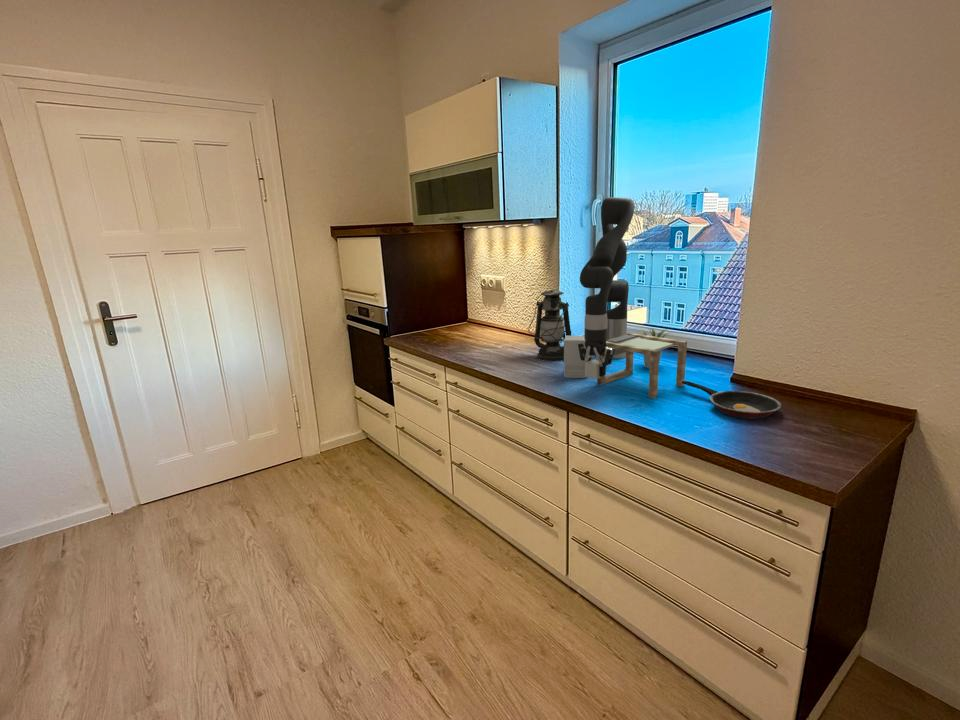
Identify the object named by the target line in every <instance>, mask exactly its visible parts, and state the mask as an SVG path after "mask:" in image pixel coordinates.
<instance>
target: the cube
mask: <svg viewBox="0 0 960 720" xmlns="http://www.w3.org/2000/svg"><path fill="white" fill-rule="evenodd" d="M602 362H603V361H602ZM599 366H600V365H599V361H598V360H597V358H594V359H593V358H592V360H590V361H587V362H585V376H587V378H591V379H595V380H597V379H598V378H601V377H600V376H599ZM604 376H607V375H606V374H605V375H604ZM602 377H603V376H602Z"/></svg>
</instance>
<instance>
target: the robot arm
mask: <svg viewBox="0 0 960 720" xmlns="http://www.w3.org/2000/svg"><path fill="white" fill-rule="evenodd" d="M634 213H635V202H634V200H633V199H632V198H628V197H627V198H626V197H614V196H610V197H605V198H604V199H603V200H602V202H601V206H600V221H601V233H602V237H601V238H600V239H599V240H598V241H597V243H596V246H595V249H594V251H593V254H592V256H591V257H590V258H589V260H588V261H587V263H585V265H584V266H583V268H582V269H581V271H580V274H579V283H580V285H581V286H582V287H583V288H585V289H600V290H599V292H598V293H597V294H591V295H589V296H586V297H585V304H584V305H585V313H584V334H583V336H584V339H585V340H586V341H585V343H584V342H583V343H580V344H578V348H579V354H580V359H581V360H583V361H584V362H587V361H590V360H593V358H594V357H595V359H596V360H598V361H599V365H600V366H599V376H600V377H602V376H604V375H605V374H606V373H607V366H609V365H611V364H612V361H613V359H614V360H615V359H616V360H618V359H624V358H626V352H625V353H621V354H618V355H613V354H614V348H611V349H610V348H608V347H607V345H606V341H607V340H609V339H612V338H616V337H620V336H623V335H626V334H627V333H628V332H627V331H628V305H629V304H628V302H629V301H628V300H629V293H630V292H629V291H630V290H629V289H630V287H629V282H628V281H627V280H625V279H623V280H621V279H618V280H614V278H615V276H617V275H618V273H619V272H620V271H621V270H622V269H623V268H624V266H625V265H626V263H627V260H628V259H627V258H628V257H627V256H628V254H627V253H628V246H627V245H626V242H625V241H624V239H623V238H624V236H625V234H626V233H627V230H628V229H629V227H630V225H631V222H632V219H633V217H634ZM614 225H615V227H614ZM608 303H619V304H618V305H617V306H615V307H613V308H610V309H608ZM586 349H587V352H586ZM605 351H606V352H605ZM605 354H606V355H605ZM583 355H584V356H583ZM601 355H602V357H600V356H601ZM602 361H603V362H602Z"/></svg>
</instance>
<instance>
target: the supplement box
mask: <svg viewBox="0 0 960 720" xmlns="http://www.w3.org/2000/svg"><path fill="white" fill-rule="evenodd" d="M585 341H586V340H585V339H584V335H571V336H566V335H565V339H564V341H563V346H564V360H563V371H564V374H563V376H564V378H567V379H570V378H571V379H574V378H575V379H588V377H587V376H585V362H584V361H583V360H581V359H580V354H579V348H578V344H580V343H583V342H584V343H585ZM586 352H587V349H586ZM583 356H584V355H583Z"/></svg>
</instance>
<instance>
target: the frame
mask: <svg viewBox="0 0 960 720" xmlns="http://www.w3.org/2000/svg"><path fill="white" fill-rule="evenodd" d="M626 335H632V336H636V338H638V337H641V339H647V340H654V341H660V342H666V343H673V346H677V347H678V348H677V359H676V360H677V362H676V377H675V378H676V379H675V380H676V382H675V386H676V387H680V388H681V387H684V386H685V384H683V383H682V381H686V380H685V379H686V364H687V363H686V362H687V348H688V341H686V340H681V339H680V340H679V339H673V338H666V337H663V338H662V337H661V336H660V337H657V336H655V337H654V336H652V335H648V334H647V335H644V334H639V333H638V334H637V333H635V332H634V333H633V332H627V334H626ZM606 345H607V347H608V348H614V349H618V350H624V351H628V352H626V357H625V366H624V367H625V369H622V370H619V371H616V372H613V373H610V374H607V375H606V376H603V377H601V378H598V379H596V381H597V382H596V385H600V386H603V385H606V384H609V383H612V382H615V381H617V380H620V379H623V378H625V376H626V377H628V375H629V376H631V375H633V374H634V353H635V354H640V355H643V354H645V355H650V368H649V377H648V394H647V395H648V397H647V398H649V397H650V398H649V399H653V398H654V399H656V397H658V387H659V369H660V368H659V367H660V366H659V365H660V362H659V351H661V350H654V349H648V348H642V347H636V346H631V345H625V344H619V343H613V342H607V341H606ZM605 352H606V351H605ZM605 355H606V354H605ZM600 357H602V355H601V356H600ZM614 380H615V381H614Z"/></svg>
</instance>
